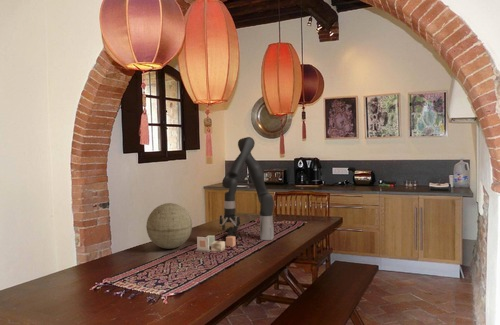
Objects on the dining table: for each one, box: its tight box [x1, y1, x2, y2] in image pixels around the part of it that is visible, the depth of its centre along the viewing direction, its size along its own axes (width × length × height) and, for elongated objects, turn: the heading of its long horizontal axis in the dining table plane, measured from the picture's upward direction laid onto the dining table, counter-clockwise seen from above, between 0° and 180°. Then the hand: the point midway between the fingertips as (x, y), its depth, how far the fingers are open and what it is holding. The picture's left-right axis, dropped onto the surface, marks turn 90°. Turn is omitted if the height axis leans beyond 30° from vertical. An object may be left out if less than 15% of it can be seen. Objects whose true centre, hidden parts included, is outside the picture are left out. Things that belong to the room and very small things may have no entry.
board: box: [195, 236, 212, 253], centre depth 262 cm, size 9×3×9 cm, turn 71°
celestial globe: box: [145, 202, 193, 250], centre depth 271 cm, size 30×30×30 cm
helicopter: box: [216, 223, 246, 240], centre depth 301 cm, size 23×34×15 cm
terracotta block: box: [225, 235, 237, 248], centre depth 275 cm, size 5×5×6 cm
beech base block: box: [210, 240, 226, 252], centre depth 265 cm, size 7×7×5 cm
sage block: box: [206, 234, 216, 247], centre depth 278 cm, size 5×5×6 cm
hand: (229, 231), depth 275 cm, fingers open, 8 cm apart
